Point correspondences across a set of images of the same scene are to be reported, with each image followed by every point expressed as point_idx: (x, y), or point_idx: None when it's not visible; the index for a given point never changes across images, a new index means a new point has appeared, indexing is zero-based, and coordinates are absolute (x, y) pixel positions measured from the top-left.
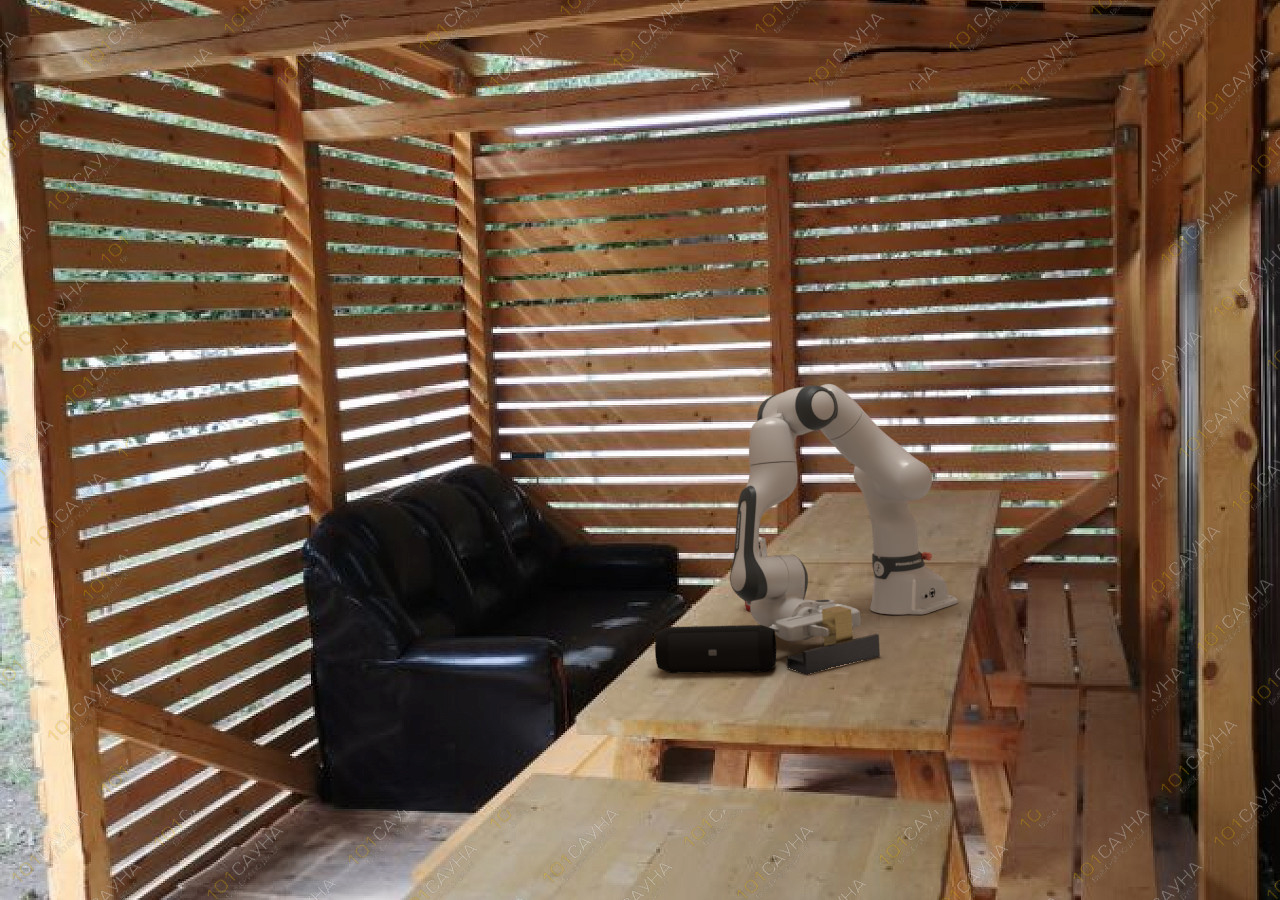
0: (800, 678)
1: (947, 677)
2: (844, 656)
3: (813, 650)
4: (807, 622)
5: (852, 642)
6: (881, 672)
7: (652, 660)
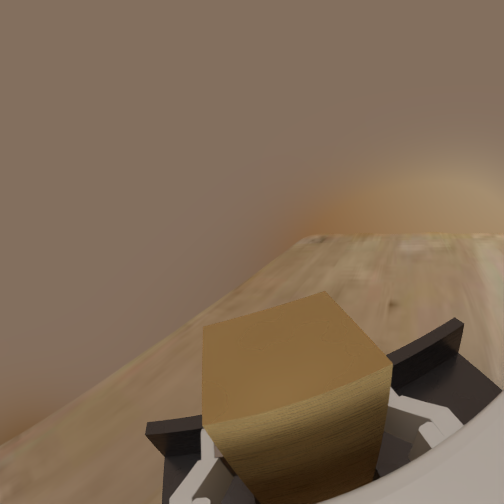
0: None
1: (194, 318)
2: None
3: (433, 331)
4: (483, 416)
5: None
6: None
7: None
